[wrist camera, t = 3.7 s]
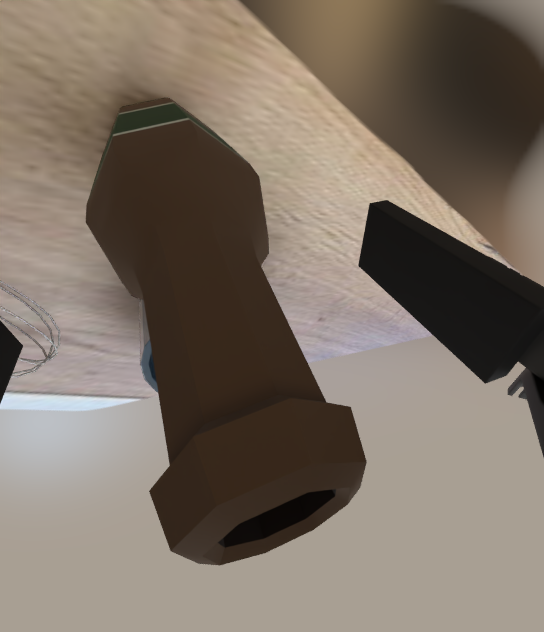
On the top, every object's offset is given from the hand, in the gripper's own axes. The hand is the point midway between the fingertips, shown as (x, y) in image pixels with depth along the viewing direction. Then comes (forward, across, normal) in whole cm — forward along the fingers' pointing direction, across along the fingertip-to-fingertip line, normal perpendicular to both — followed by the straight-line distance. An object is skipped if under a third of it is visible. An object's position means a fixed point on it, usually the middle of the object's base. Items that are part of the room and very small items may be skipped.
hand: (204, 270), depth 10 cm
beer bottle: (+16, 0, 0) cm, 16 cm away
